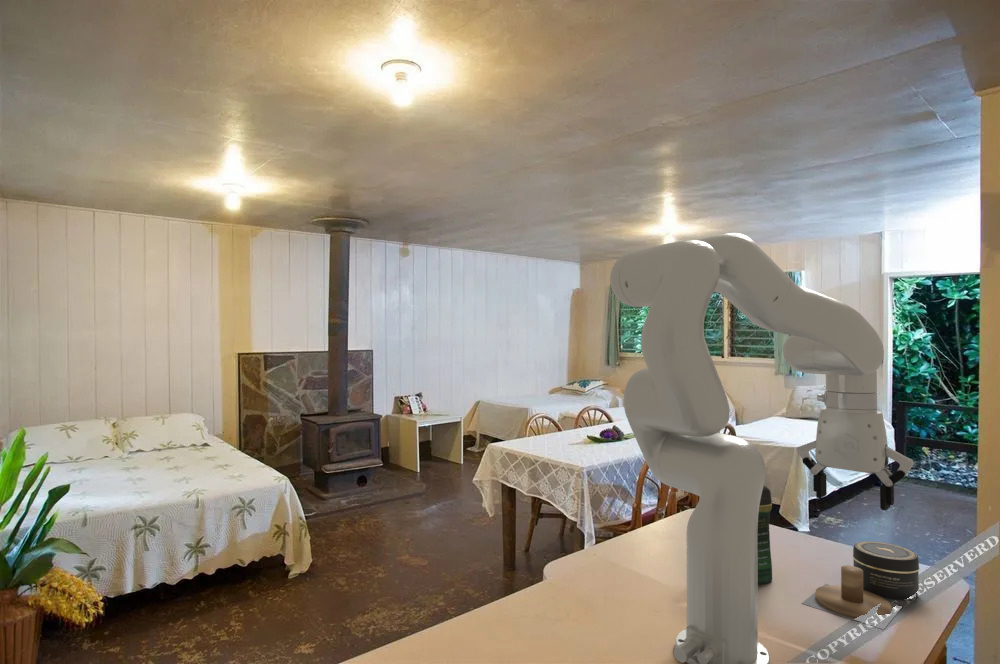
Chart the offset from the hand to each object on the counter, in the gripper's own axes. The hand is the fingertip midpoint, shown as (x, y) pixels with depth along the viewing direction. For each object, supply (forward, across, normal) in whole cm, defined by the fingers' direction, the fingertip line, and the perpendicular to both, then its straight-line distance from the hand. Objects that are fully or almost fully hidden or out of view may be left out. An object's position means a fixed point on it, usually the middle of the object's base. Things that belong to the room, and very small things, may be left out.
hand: (852, 502), depth 97 cm
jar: (+18, +2, +12) cm, 22 cm away
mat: (+18, 0, 0) cm, 18 cm away
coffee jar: (+18, -18, -1) cm, 26 cm away
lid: (+17, 0, 0) cm, 17 cm away
